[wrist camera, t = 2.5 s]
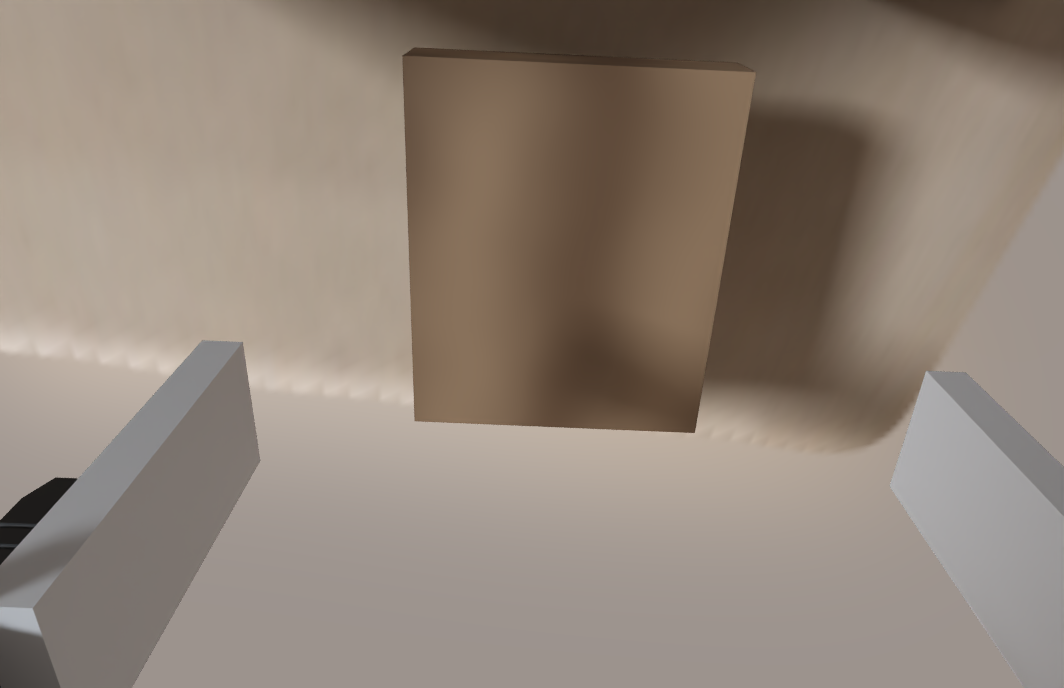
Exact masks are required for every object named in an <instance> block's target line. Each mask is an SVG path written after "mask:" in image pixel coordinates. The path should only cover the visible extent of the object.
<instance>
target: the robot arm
mask: <svg viewBox="0 0 1064 688" xmlns="http://www.w3.org/2000/svg"><path fill="white" fill-rule="evenodd" d="M259 462H260V456H259V449H258V443H257V435H256V430H255V422H254V415H253V409H252V402H251V395H250V388H249V382H248V375H247V368H246V361H245V355H244V348H243V342H227V341H203V340H202V341H201V343H200V344H199V345H198V346H197V347H196V348H195V349H194V350H193V352H192V353H191V354H190V355H189V356H188V357H187V358H186V359H185V360H184V362H183V363H182V364H181V365H180V366H179V367H178V368H177V369H176V370H175V372H174V373H173V374H172V375H171V376H170V377H169V378H168V379H167V381H166V382H165V383H164V384H163V385H162V386H161V387H160V388H159V389H158V390H157V392H156V393H155V394H154V395H153V396H152V397H151V398H150V399H149V400H148V402H147V403H146V404H145V405H144V406H143V407H142V408H141V409H140V410H139V412H138V413H137V414H136V415H135V416H134V417H133V418H132V420H130V422H129V423H128V424H127V425H126V426H125V427H124V428H123V429H122V430H121V432H120V433H119V434H118V435H117V436H116V437H115V438H114V439H113V440H112V442H111V443H110V444H109V445H108V446H107V447H106V448H105V449H104V450H103V452H102V453H101V454H100V455H99V456H98V457H97V459H95V460H94V462H93V463H92V464H91V465H90V466H89V467H88V468H87V469H86V470H85V472H84V473H83V474H82V475H81V476H80V477H79V478H78V479H76V478H54V479H53V480H51V481H49V482H48V483H46V484H44V485H43V486H41V487H39V488H38V489H36V490H34V491H33V492H31V493H30V494H28V495H26V496H25V497H23V498H22V499H21V500H20V501H19V502H18V503H17V504H16V505H15V506H14V507H13V508H12V509H11V510H10V511H9V512H8V513H7V514H6V515H5V516H4V517H3V518H2V519H1V520H0V688H132V686H133V685H134V683H135V681H136V679H137V678H138V676H139V674H140V672H141V671H142V669H143V667H144V665H145V663H146V662H147V660H148V658H149V656H150V655H151V653H152V651H153V649H154V648H155V646H156V644H157V642H158V641H159V639H160V637H161V635H162V633H163V632H164V630H165V628H166V626H167V625H168V623H169V621H170V619H171V618H172V616H173V614H174V612H175V610H176V609H177V607H178V605H179V603H180V602H181V600H182V598H183V596H184V595H185V593H186V591H187V589H188V587H189V586H190V584H191V582H192V580H193V579H194V577H195V575H196V573H197V572H198V570H199V568H200V566H201V565H202V563H203V561H204V559H205V557H206V555H207V554H208V552H209V550H210V549H211V547H212V545H213V543H214V541H215V540H216V538H217V536H218V534H219V533H220V531H221V529H222V527H223V526H224V524H225V522H226V520H227V519H228V517H229V515H230V513H231V511H232V510H233V508H234V506H235V504H236V503H237V501H238V499H239V497H240V496H241V494H242V492H243V490H244V488H245V487H246V485H247V483H248V481H249V480H250V478H251V476H252V474H253V473H254V471H255V469H256V467H257V466H258V464H259ZM890 488H891V489H892V491H893V492H894V494H895V495H896V497H897V498H898V500H899V501H900V503H901V504H902V506H903V507H904V509H905V510H906V512H907V513H908V515H909V516H910V518H911V519H912V521H913V522H914V524H915V525H916V527H917V528H918V530H919V531H920V533H921V534H922V535H923V537H924V539H925V540H926V542H927V543H928V545H929V546H930V548H931V549H932V551H933V552H934V554H935V555H936V557H937V558H938V560H939V561H940V563H941V564H942V566H943V567H944V569H945V570H946V572H947V573H948V575H949V576H950V578H951V579H952V581H953V582H954V584H955V585H956V587H957V588H958V590H959V591H960V593H961V594H962V596H963V597H964V599H965V600H966V602H967V603H968V605H969V606H970V608H971V609H972V611H973V612H974V614H975V615H976V617H977V618H978V620H979V621H980V623H981V624H982V626H983V627H984V629H985V630H986V632H987V633H988V635H989V636H990V638H991V639H992V641H993V642H994V644H995V645H996V647H997V648H998V650H999V651H1000V653H1001V654H1002V656H1003V657H1004V659H1005V660H1006V662H1007V663H1008V665H1009V666H1010V668H1011V669H1012V671H1013V672H1014V674H1015V675H1016V677H1017V678H1018V680H1019V681H1020V683H1021V684H1022V686H1023V687H1024V688H1064V467H1063V466H1062V465H1061V464H1060V463H1059V462H1058V461H1057V460H1056V459H1055V458H1054V457H1053V456H1052V455H1051V454H1050V453H1049V452H1048V451H1047V450H1046V449H1045V448H1044V447H1043V446H1042V445H1041V444H1039V443H1038V442H1037V441H1036V440H1035V439H1034V438H1033V437H1032V436H1031V435H1030V434H1029V433H1028V432H1027V431H1026V430H1025V429H1024V428H1023V427H1022V426H1021V425H1020V424H1018V422H1017V421H1016V420H1015V419H1014V418H1012V417H1011V416H1010V415H1009V414H1008V413H1007V412H1006V411H1005V410H1004V409H1003V408H1002V407H1001V406H1000V405H999V404H998V403H997V402H996V401H995V400H994V399H993V398H992V397H991V396H990V395H989V394H988V393H987V392H986V391H984V390H983V389H982V388H981V387H980V386H979V385H978V384H977V383H976V382H975V381H974V380H973V379H972V378H971V377H970V376H969V375H968V374H967V373H964V372H941V371H926V373H925V376H924V380H923V383H922V386H921V389H920V392H919V395H918V398H917V402H916V405H915V408H914V411H913V414H912V417H911V420H910V424H909V427H908V430H907V433H906V436H905V439H904V442H903V446H902V449H901V452H900V455H899V458H898V461H897V465H896V468H895V471H894V474H893V477H892V480H891V483H890Z"/></svg>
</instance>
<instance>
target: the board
mask: <svg viewBox="0 0 1064 688" xmlns="http://www.w3.org/2000/svg"><path fill="white" fill-rule="evenodd" d="M755 75H756V72H754V71H752V70H750V69H749V68H747V67H745V66H743V65H741V64H739V63H731V62H710V61H689V60H668V59H647V58H625V57H604V56H583V55H562V54H540V53H519V52H498V51H477V50H456V49H434V48H413V49H412V50H410V51H409V52H407V53H406V54H404V55H403V86H404V116H405V146H406V176H407V206H408V235H409V265H410V295H411V325H412V355H413V385H414V414H415V421H423V422H424V421H425V422H447V423H471V424H494V425H495V424H496V425H519V426H543V427H567V428H590V429H614V430H638V431H661V432H685V433H695V429H696V423H697V417H698V411H699V405H700V399H701V393H702V387H703V381H704V376H705V370H706V364H707V358H708V352H709V346H710V340H711V334H712V328H713V323H714V317H715V311H716V305H717V299H718V293H719V287H720V281H721V275H722V270H723V264H724V258H725V252H726V246H727V240H728V234H729V228H730V222H731V217H732V211H733V205H734V199H735V193H736V187H737V181H738V175H739V169H740V164H741V158H742V152H743V146H744V140H745V134H746V128H747V122H748V116H749V111H750V105H751V99H752V93H753V87H754V81H755Z"/></svg>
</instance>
